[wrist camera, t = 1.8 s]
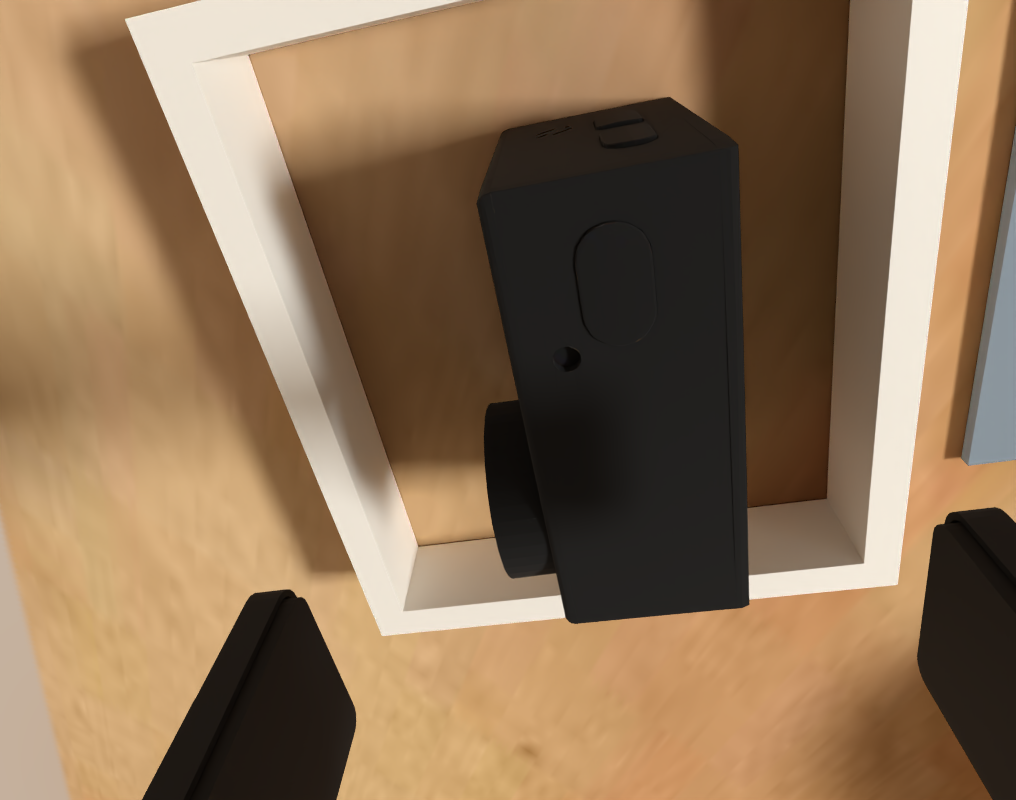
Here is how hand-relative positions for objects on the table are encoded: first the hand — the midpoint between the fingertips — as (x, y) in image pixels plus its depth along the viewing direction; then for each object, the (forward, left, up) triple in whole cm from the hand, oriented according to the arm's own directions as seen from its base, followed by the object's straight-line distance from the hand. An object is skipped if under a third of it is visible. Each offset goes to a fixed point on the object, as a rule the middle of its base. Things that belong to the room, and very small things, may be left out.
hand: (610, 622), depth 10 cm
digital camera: (-1, 0, -11) cm, 11 cm away
